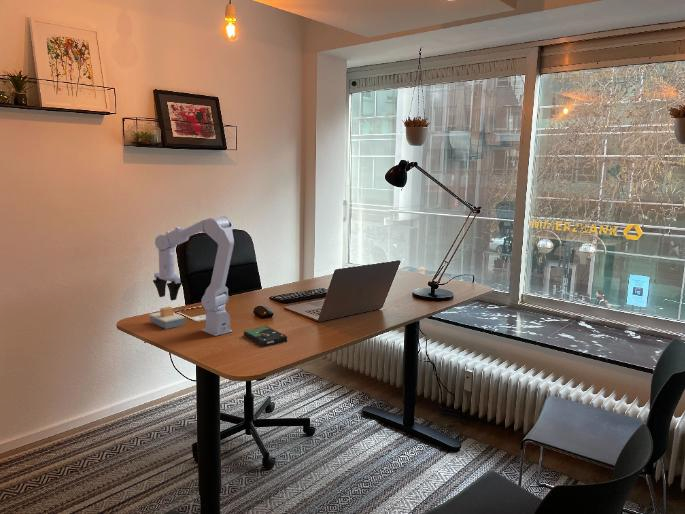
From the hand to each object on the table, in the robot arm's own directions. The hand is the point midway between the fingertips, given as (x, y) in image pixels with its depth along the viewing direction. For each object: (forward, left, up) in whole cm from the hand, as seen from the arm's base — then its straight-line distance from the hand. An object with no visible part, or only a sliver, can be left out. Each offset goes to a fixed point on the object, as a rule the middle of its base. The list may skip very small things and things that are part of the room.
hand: (167, 298), depth 213 cm
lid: (-1, +1, -7) cm, 7 cm away
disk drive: (-41, -16, -11) cm, 45 cm away
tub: (-1, +1, -10) cm, 10 cm away
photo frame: (+3, -17, -11) cm, 20 cm away
